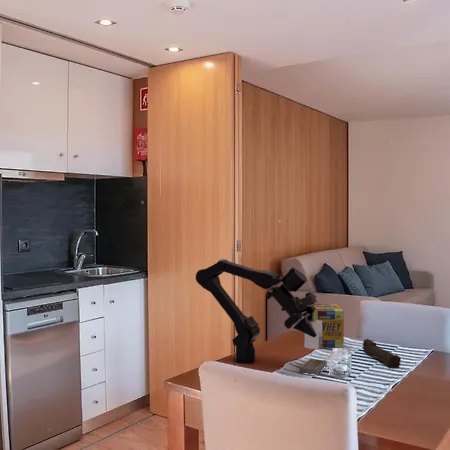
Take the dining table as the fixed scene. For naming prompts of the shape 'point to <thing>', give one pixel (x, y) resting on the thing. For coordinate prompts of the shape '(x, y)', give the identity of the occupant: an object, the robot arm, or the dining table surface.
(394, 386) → the dining table surface
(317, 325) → the pale upright block
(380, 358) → the dark brown rod
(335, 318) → the protein box
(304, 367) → the grey gold-striped flat block
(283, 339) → the dining table surface
